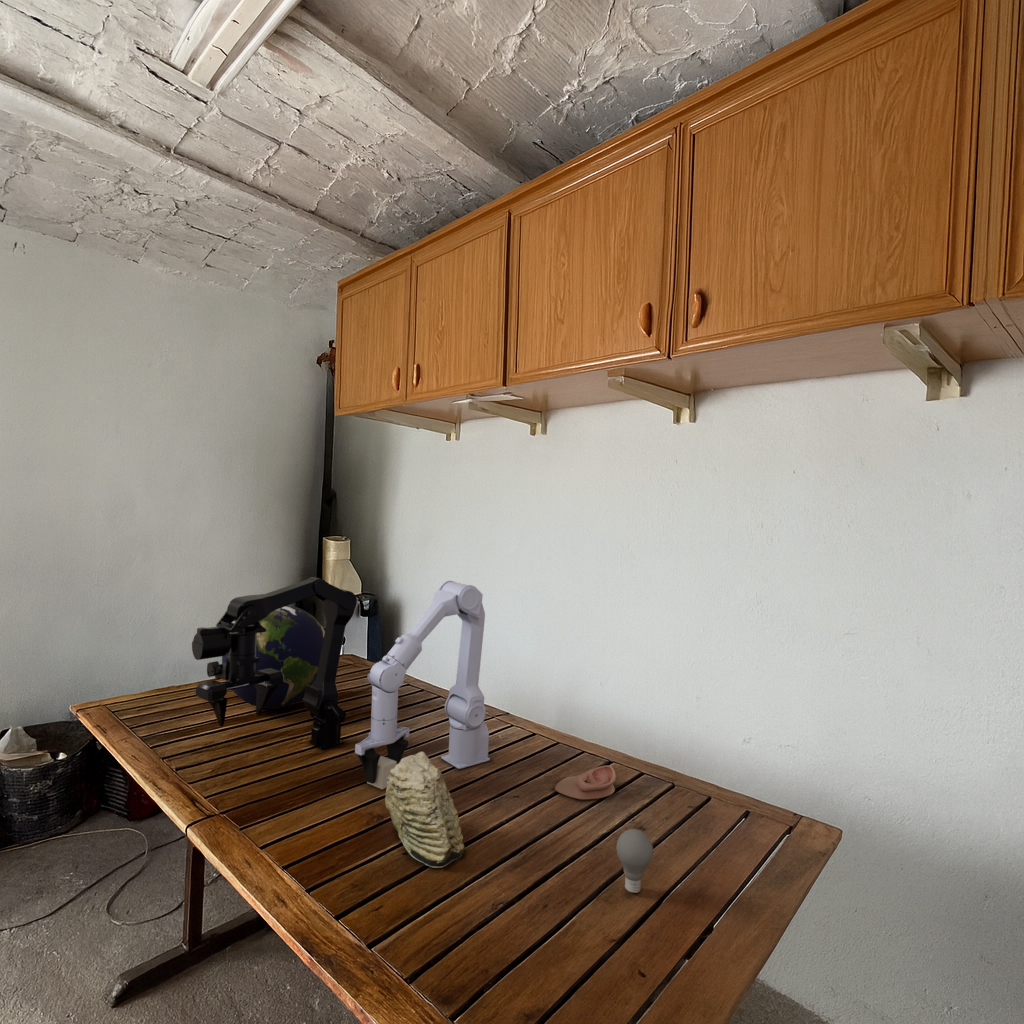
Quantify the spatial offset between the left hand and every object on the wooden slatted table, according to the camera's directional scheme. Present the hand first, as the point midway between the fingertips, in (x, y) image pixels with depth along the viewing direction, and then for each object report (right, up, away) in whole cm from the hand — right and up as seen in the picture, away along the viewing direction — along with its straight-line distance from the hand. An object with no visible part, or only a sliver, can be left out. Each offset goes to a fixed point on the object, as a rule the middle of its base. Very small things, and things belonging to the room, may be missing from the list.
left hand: (240, 720), depth 145 cm
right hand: (+33, -11, -4) cm, 35 cm away
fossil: (+46, -14, -28) cm, 55 cm away
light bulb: (+83, -16, -40) cm, 93 cm away
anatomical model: (+79, -15, -3) cm, 80 cm away
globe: (-8, -10, +43) cm, 45 cm away
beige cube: (+33, -13, -4) cm, 36 cm away
